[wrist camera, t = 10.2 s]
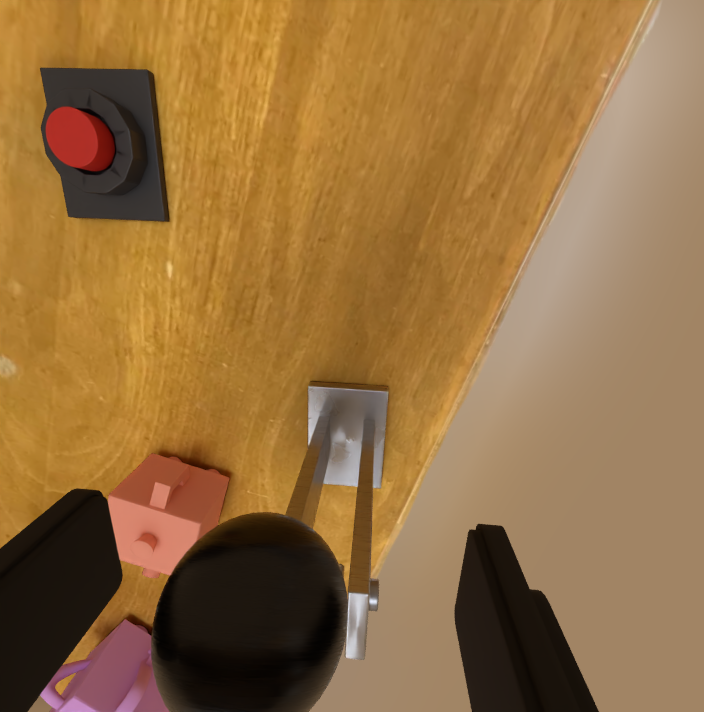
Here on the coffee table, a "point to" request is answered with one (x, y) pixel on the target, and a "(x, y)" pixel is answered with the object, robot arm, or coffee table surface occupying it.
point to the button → (80, 139)
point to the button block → (131, 137)
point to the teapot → (110, 677)
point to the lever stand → (346, 481)
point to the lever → (250, 619)
